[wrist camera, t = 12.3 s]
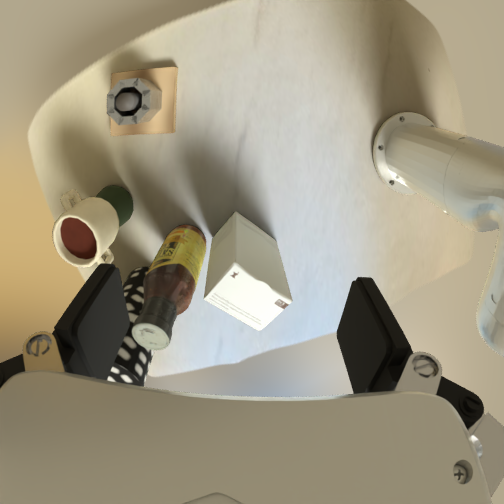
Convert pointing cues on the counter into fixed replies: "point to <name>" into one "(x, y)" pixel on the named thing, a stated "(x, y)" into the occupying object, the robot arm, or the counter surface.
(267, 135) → the counter surface
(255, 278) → the skincare box
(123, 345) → the white-spotted black cylinder
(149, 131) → the shaft stand
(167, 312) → the sauce bottle
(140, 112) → the tube
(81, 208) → the character mug
